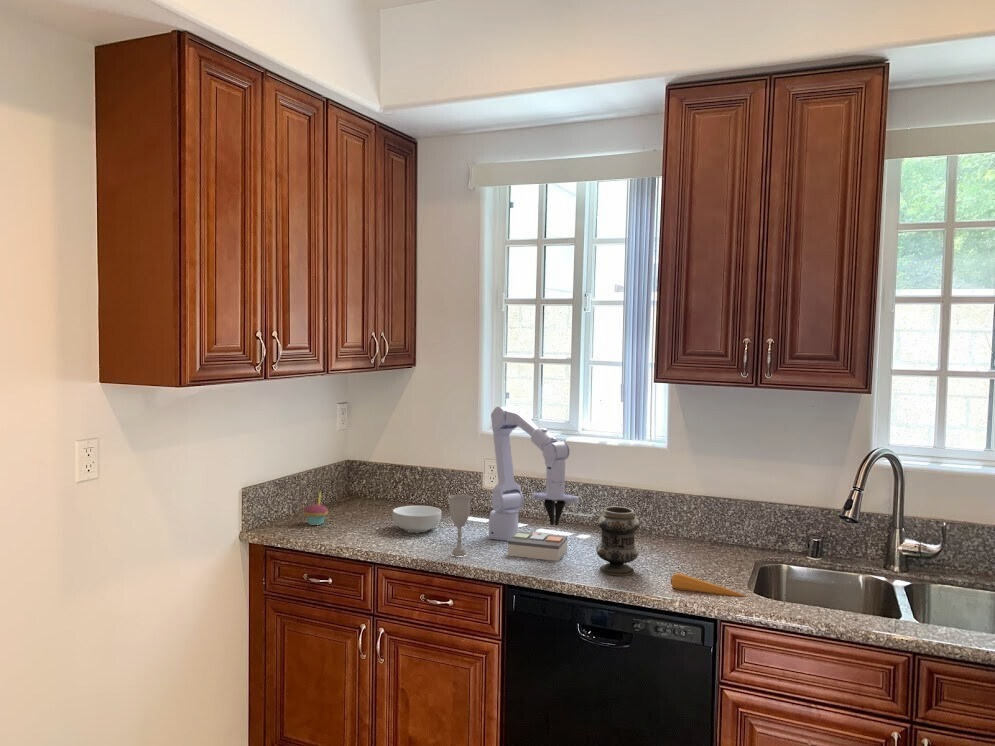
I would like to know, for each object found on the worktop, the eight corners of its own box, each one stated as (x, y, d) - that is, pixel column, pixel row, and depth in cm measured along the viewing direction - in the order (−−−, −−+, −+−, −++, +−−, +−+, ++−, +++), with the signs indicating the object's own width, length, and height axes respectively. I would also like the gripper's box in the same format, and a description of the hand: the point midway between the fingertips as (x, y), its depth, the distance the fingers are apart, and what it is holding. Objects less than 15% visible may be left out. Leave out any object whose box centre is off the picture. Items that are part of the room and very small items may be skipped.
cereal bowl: (450, 532, 251) (450, 512, 251) (406, 539, 242) (406, 518, 242) (426, 521, 265) (426, 502, 265) (384, 528, 256) (384, 507, 256)
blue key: (529, 545, 228) (529, 537, 228) (533, 541, 232) (533, 534, 232) (542, 546, 226) (542, 539, 226) (546, 543, 230) (546, 535, 230)
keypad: (507, 555, 226) (507, 540, 226) (518, 545, 237) (518, 530, 237) (558, 560, 221) (558, 545, 221) (567, 550, 232) (567, 535, 232)
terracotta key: (545, 547, 226) (546, 539, 226) (549, 543, 230) (549, 536, 230) (559, 548, 225) (559, 540, 225) (562, 544, 229) (562, 537, 229)
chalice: (474, 553, 227) (475, 495, 227) (466, 559, 221) (467, 500, 220) (452, 550, 230) (453, 493, 229) (443, 556, 223) (444, 498, 223)
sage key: (513, 543, 229) (513, 536, 229) (517, 540, 233) (517, 532, 233) (526, 544, 228) (526, 537, 228) (530, 541, 232) (530, 534, 232)
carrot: (669, 592, 198) (670, 578, 196) (671, 581, 202) (673, 568, 200) (747, 609, 192) (749, 596, 190) (748, 597, 195) (750, 584, 193)
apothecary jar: (638, 578, 206) (639, 515, 205) (594, 575, 208) (596, 512, 207) (637, 565, 218) (639, 505, 217) (596, 563, 220) (598, 503, 219)
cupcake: (317, 520, 265) (317, 487, 264) (333, 524, 260) (333, 490, 259) (298, 524, 258) (298, 491, 257) (314, 528, 253) (314, 494, 253)
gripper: (529, 481, 225) (528, 525, 226) (576, 485, 220) (575, 529, 221) (535, 477, 232) (534, 520, 232) (580, 480, 227) (579, 524, 228)
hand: (554, 524), depth 227 cm, fingers closed
